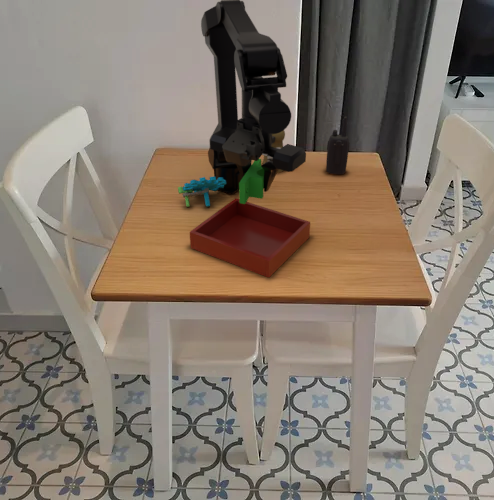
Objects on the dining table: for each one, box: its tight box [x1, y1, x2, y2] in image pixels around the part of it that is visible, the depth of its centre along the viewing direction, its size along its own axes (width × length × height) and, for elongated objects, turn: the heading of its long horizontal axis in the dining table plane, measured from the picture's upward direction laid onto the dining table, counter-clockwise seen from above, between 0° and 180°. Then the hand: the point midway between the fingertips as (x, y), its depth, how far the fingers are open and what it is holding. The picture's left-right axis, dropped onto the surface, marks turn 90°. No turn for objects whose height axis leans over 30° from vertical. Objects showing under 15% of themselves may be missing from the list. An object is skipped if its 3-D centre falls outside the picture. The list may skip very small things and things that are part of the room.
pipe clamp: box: [238, 158, 264, 204], centre depth 109 cm, size 11×4×5 cm, turn 164°
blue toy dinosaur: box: [177, 175, 226, 208], centre depth 126 cm, size 11×6×10 cm
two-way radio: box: [325, 115, 350, 175], centre depth 137 cm, size 6×4×15 cm
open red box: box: [189, 197, 311, 278], centre depth 113 cm, size 19×17×4 cm
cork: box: [262, 130, 286, 174], centre depth 140 cm, size 6×6×11 cm
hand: (256, 188), depth 110 cm, fingers closed on pipe clamp, 4 cm apart
